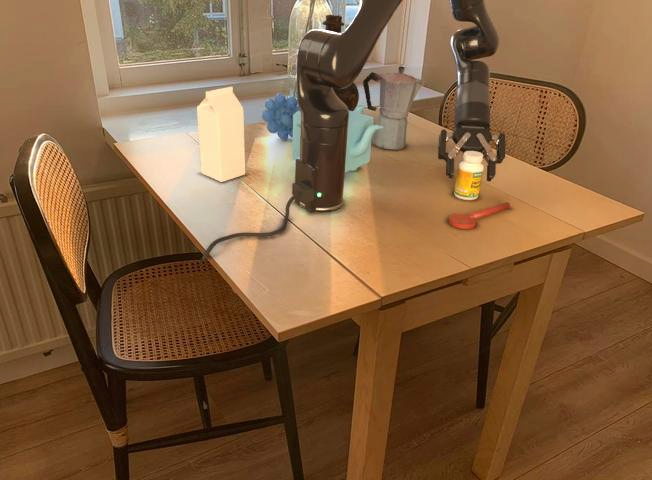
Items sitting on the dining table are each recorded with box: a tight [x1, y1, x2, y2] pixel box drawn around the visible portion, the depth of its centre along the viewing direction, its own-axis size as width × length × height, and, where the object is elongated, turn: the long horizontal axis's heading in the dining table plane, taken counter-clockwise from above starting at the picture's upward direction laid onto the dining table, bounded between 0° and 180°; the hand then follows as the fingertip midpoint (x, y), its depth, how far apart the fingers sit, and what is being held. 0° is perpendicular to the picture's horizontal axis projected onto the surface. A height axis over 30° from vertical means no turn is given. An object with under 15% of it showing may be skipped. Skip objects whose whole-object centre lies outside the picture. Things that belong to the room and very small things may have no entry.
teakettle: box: [291, 103, 384, 174], centre depth 134 cm, size 19×19×15 cm
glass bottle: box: [322, 14, 360, 111], centre depth 165 cm, size 18×18×28 cm
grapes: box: [261, 93, 300, 140], centre depth 151 cm, size 12×7×12 cm, turn 105°
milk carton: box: [196, 86, 246, 183], centre depth 127 cm, size 7×7×19 cm
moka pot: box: [362, 66, 426, 151], centre depth 149 cm, size 10×15×20 cm, turn 89°
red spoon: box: [448, 201, 511, 230], centre depth 119 cm, size 17×5×1 cm, turn 125°
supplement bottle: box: [453, 151, 485, 201], centre depth 125 cm, size 5×5×10 cm
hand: (470, 178), depth 124 cm, fingers open, 7 cm apart
